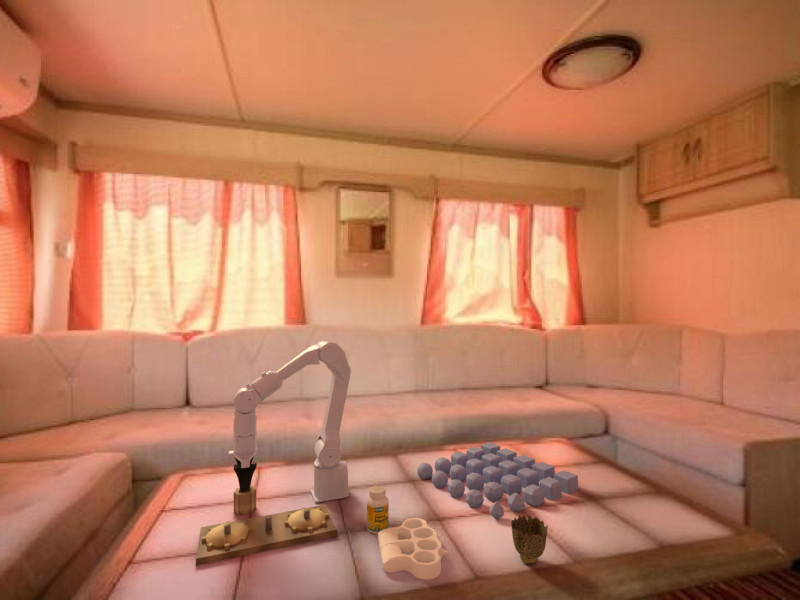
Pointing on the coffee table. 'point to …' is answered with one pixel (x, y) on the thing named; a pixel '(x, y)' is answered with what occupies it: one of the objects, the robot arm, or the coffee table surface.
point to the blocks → (499, 478)
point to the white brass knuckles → (412, 549)
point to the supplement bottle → (377, 510)
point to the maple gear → (244, 501)
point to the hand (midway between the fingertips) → (244, 484)
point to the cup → (529, 538)
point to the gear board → (263, 534)
